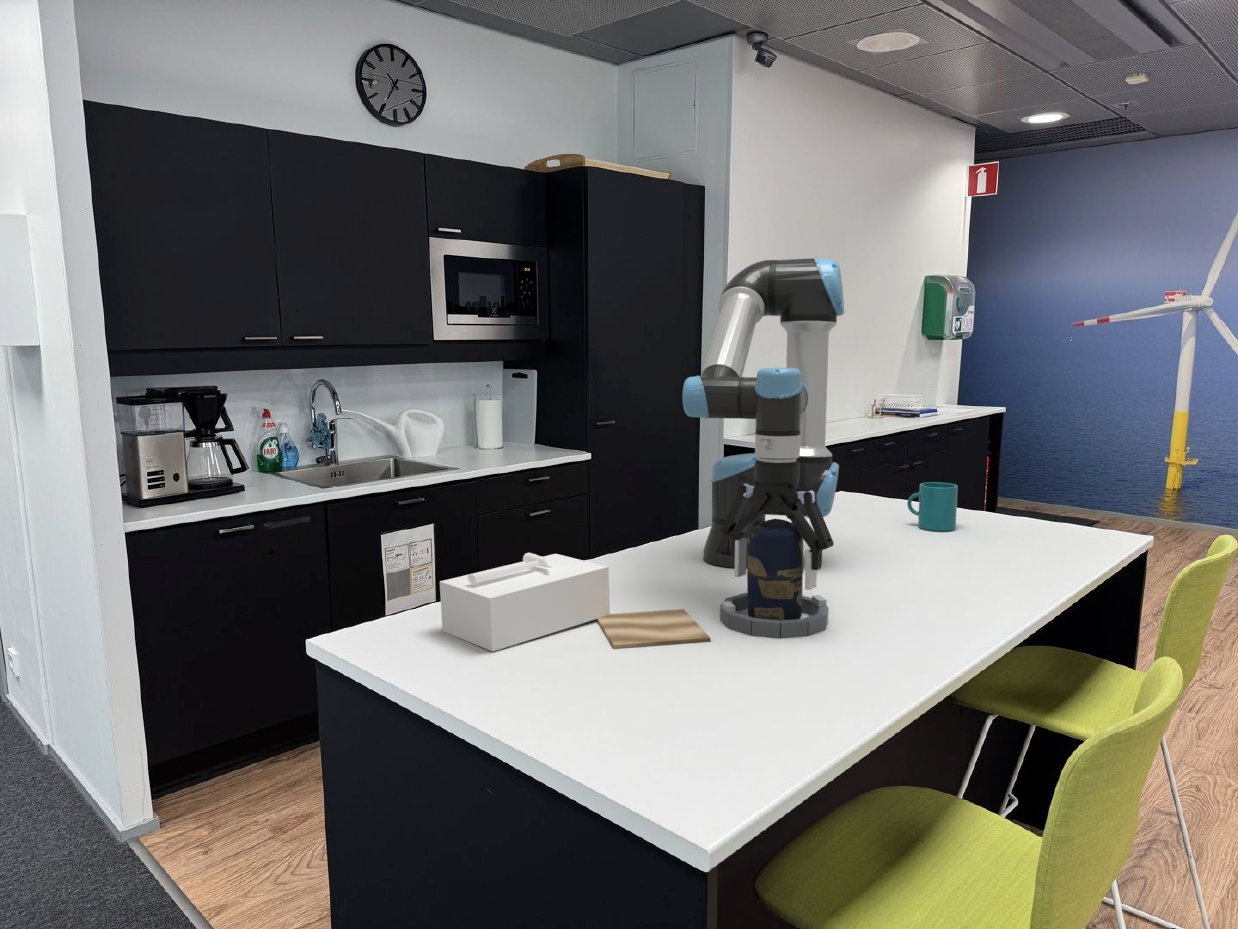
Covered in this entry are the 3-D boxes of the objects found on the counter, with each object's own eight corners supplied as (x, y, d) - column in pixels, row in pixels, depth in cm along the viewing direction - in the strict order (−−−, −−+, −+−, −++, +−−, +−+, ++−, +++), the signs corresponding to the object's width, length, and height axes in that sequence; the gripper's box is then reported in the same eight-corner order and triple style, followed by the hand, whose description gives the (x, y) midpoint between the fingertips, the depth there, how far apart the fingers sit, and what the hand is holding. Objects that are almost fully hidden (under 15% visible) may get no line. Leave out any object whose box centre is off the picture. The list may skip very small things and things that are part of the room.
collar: (708, 608, 165) (708, 590, 164) (801, 602, 168) (802, 584, 168) (741, 641, 147) (742, 620, 147) (845, 633, 151) (845, 612, 150)
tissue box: (609, 614, 159) (608, 554, 158) (492, 651, 142) (489, 584, 141) (557, 598, 170) (555, 541, 168) (442, 631, 153) (438, 568, 151)
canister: (801, 631, 152) (804, 525, 150) (744, 627, 154) (746, 523, 152) (801, 613, 162) (804, 514, 159) (748, 610, 163) (749, 512, 161)
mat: (595, 618, 160) (595, 615, 159) (683, 612, 163) (683, 609, 163) (613, 648, 144) (613, 645, 144) (710, 641, 147) (710, 637, 147)
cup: (910, 522, 239) (912, 480, 238) (958, 526, 233) (960, 483, 232) (902, 528, 231) (904, 485, 230) (952, 533, 226) (954, 489, 224)
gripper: (702, 456, 159) (701, 574, 161) (836, 467, 143) (832, 598, 146) (725, 451, 164) (724, 566, 167) (856, 462, 149) (851, 588, 152)
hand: (774, 581), depth 157 cm, fingers open, 13 cm apart
